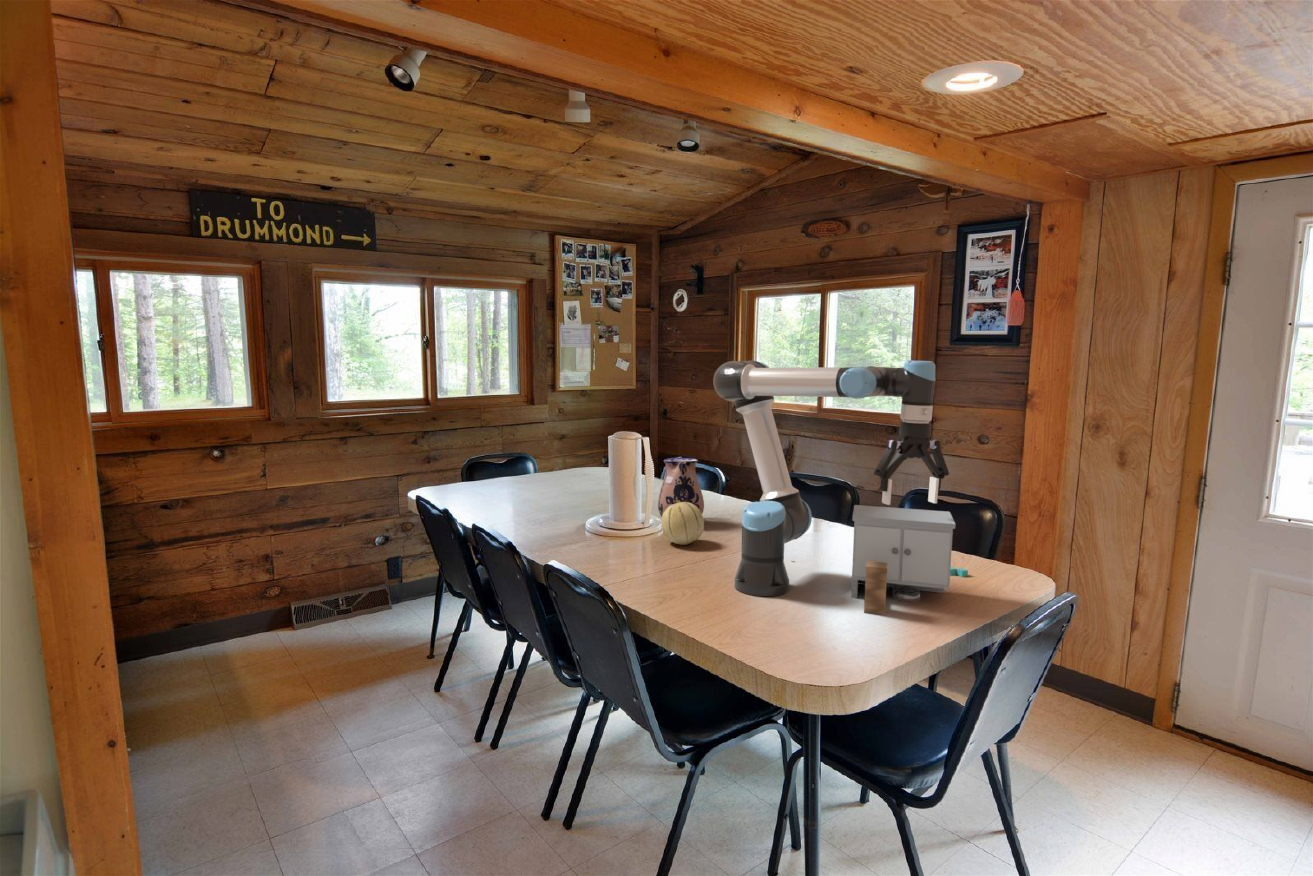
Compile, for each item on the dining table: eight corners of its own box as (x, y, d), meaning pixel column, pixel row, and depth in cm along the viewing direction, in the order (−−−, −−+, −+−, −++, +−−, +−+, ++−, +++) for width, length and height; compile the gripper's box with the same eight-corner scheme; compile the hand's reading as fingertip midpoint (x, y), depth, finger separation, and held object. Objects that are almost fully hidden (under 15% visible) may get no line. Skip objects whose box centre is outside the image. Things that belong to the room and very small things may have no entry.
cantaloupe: (701, 550, 226) (702, 506, 224) (658, 548, 228) (658, 504, 227) (705, 539, 241) (706, 497, 239) (664, 537, 243) (664, 495, 241)
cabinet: (848, 599, 182) (852, 517, 179) (851, 580, 197) (854, 504, 194) (950, 610, 174) (956, 525, 171) (944, 590, 189) (949, 511, 187)
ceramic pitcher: (663, 531, 252) (663, 463, 249) (652, 517, 272) (652, 455, 269) (709, 529, 255) (710, 462, 252) (694, 516, 276) (695, 454, 273)
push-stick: (863, 612, 172) (866, 566, 171) (865, 587, 191) (867, 545, 190) (884, 615, 171) (887, 568, 169) (884, 589, 190) (886, 547, 189)
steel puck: (892, 601, 181) (892, 593, 181) (891, 592, 188) (892, 585, 188) (920, 604, 179) (921, 596, 179) (919, 595, 186) (919, 588, 186)
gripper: (880, 423, 168) (874, 507, 170) (968, 423, 173) (960, 505, 176) (864, 419, 175) (858, 501, 178) (948, 419, 181) (942, 498, 183)
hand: (909, 503), depth 177 cm, fingers open, 13 cm apart
